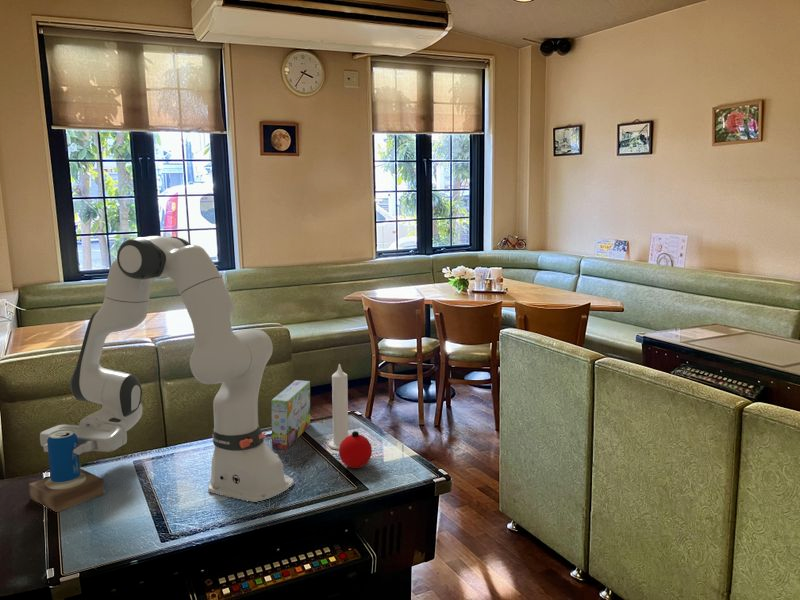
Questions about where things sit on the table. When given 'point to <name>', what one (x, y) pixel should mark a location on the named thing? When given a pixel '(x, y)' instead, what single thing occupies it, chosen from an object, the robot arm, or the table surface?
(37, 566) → the table surface
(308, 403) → the snack box
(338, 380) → the candle
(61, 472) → the beverage can
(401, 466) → the table surface
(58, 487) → the base block
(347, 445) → the ornament
